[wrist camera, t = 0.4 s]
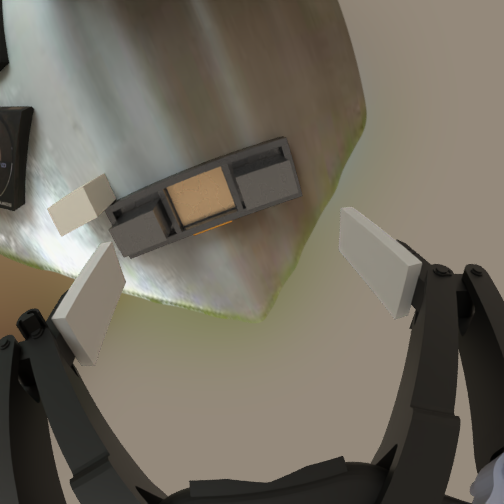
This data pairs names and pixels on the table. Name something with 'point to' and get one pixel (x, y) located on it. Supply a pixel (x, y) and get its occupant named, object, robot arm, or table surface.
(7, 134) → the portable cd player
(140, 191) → the rack
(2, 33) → the external hard drive
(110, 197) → the beige rectangular block
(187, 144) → the table surface
